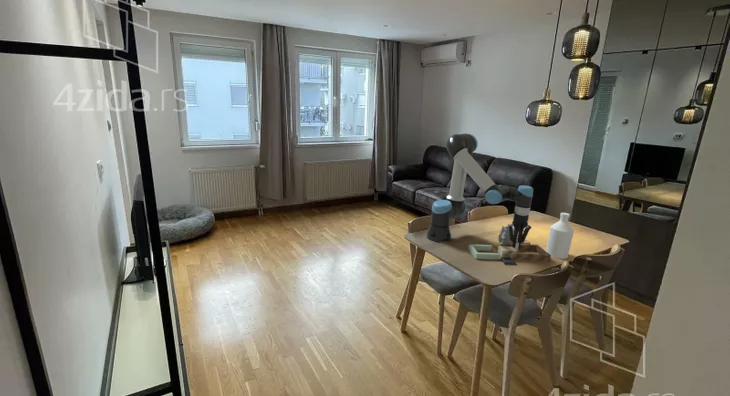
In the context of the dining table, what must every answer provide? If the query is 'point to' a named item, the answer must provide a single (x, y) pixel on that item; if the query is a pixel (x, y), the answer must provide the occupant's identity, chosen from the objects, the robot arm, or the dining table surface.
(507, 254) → the beech block
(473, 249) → the dock
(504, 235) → the mug
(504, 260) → the tray
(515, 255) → the shallow wooden box
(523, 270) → the dining table surface
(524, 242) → the terracotta cube
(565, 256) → the bottle
